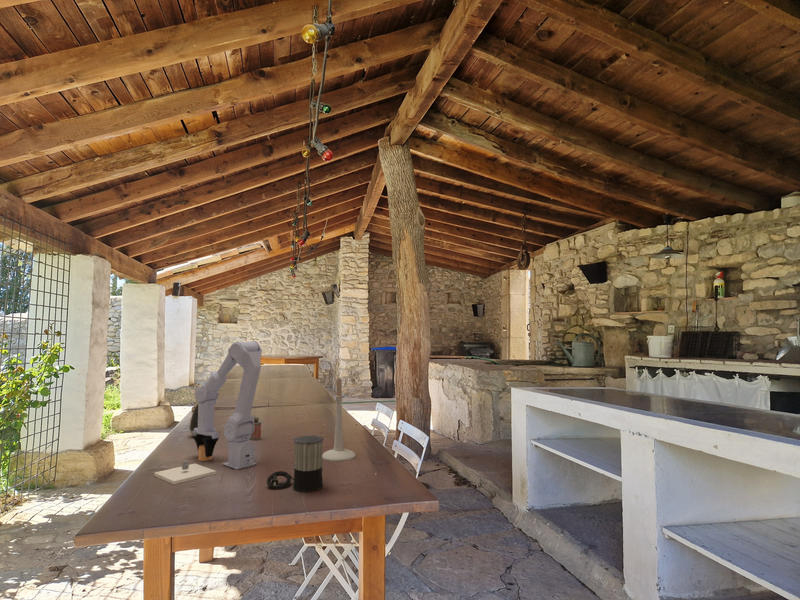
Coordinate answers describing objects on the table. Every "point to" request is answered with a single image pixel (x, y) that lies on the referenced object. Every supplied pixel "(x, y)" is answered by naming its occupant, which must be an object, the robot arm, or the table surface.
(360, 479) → the table surface
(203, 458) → the cap
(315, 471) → the milk frother
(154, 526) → the table surface
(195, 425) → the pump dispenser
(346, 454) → the candlestick
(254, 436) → the lighter
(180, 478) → the post board
